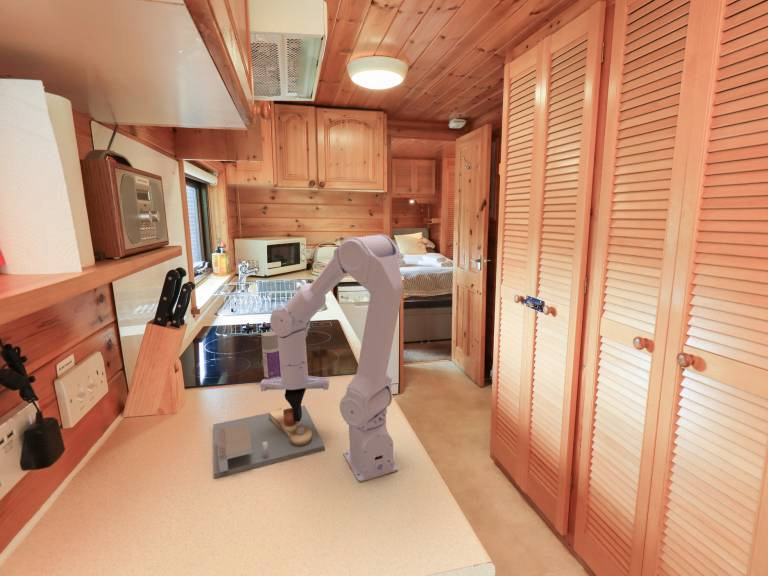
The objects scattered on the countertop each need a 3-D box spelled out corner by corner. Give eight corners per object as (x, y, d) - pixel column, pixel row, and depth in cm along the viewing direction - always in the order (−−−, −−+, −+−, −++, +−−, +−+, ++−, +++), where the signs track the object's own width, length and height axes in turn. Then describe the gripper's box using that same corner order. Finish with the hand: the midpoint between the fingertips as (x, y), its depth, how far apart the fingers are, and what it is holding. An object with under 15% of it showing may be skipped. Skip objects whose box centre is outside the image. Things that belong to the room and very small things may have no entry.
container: (284, 380, 116) (280, 331, 113) (278, 387, 111) (274, 336, 108) (268, 379, 116) (264, 331, 113) (262, 386, 111) (258, 336, 109)
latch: (316, 440, 83) (314, 420, 82) (296, 448, 80) (294, 428, 79) (284, 412, 94) (282, 395, 94) (265, 419, 92) (264, 401, 91)
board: (324, 450, 81) (323, 432, 80) (214, 478, 73) (212, 459, 72) (304, 409, 98) (303, 394, 98) (213, 428, 90) (211, 412, 89)
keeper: (253, 468, 76) (251, 448, 75) (220, 477, 73) (218, 456, 73) (249, 441, 85) (247, 423, 84) (219, 448, 82) (217, 429, 82)
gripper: (329, 353, 88) (332, 409, 91) (265, 355, 88) (270, 411, 91) (325, 365, 81) (328, 425, 84) (255, 367, 81) (260, 427, 84)
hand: (297, 419), depth 87 cm, fingers closed, pressing on latch
